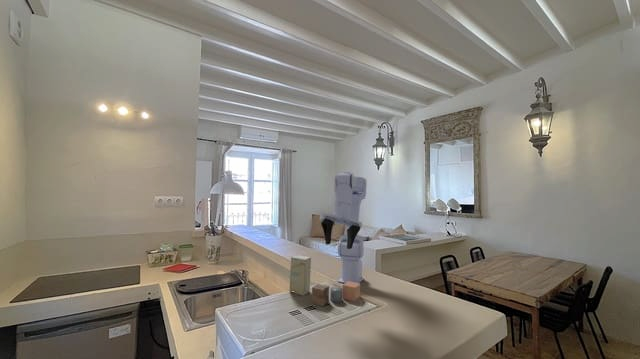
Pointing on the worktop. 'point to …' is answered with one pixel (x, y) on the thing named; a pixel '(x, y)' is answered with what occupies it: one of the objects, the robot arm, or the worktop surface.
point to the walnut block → (320, 294)
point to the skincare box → (300, 274)
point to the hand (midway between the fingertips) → (338, 246)
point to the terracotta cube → (351, 291)
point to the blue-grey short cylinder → (336, 294)
